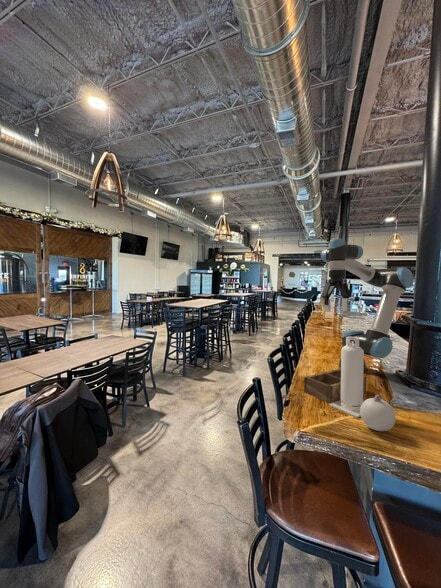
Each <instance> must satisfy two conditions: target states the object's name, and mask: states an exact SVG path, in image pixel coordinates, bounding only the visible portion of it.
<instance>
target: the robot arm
mask: <svg viewBox="0 0 441 588" xmlns="http://www.w3.org/2000/svg"><path fill="white" fill-rule="evenodd" d="M328 245H329V246H328V248H326V249H325V248H324V249H323V250H322V251H321V253H320V258H321V261H322V262H324V263H328V269H329V270H328V277H329V278H326V279H325V284H324V287H323V290H322V292H321V298H322V299H324V300H323V301H324V312H327V313H331V301H332V300H331V296H332V295H333V292H334V290H335V289H338V290H339V292H340V294H341V296H342V298H341V312H342V311H345V312H347V311H348V301H349V299H350V297H352V294H351V292H350V289H349V285H348V279H344V278H345V277H346V271H348V272H349V273H351V274H353V275H355V276H356V277H358V278H360V279H361V281H362V282H364V283H367V284H368V285H371V286H374V287H375V288H381V290H383V291H382V293H381V298H380V299H379V303H378V306H377V309H376V312H375V314H374V318H373V321H372V323H371V327H370V328H368V329H367V330H366V332H365V331H364V330H362V329H361V330H360V329H356V330H355V329H353V330H349V329H348V330H344V331H343V332H342V337H341V348H342V347H344V346H346V337H349V336H351V337H358V338H359V347H361V348H362V349H363V351H364V356H365V355H366V356H370V357H373V358H378V359H385V358H386V357H388V356H390V354H391V353H392V350H393V348H394V346H393V340H392V339H391V336H390V335H391V334H389V331H390V330H391V329H390V328H391V326H392V322H393V320H394V316H395V312H396V310H397V307H398V304H399V300H400V297H401V295H403V294H405V292H406V290H407V289H409V288H411V287H413V284H414V275H413V273H412V270H410V269H409V268H408V267H393V268H392V267H390V268H374V267H372V266H367V265H365V264H363V263H361V262H359V261H358V260H359V259H361V258H362V257H363V255H364V249H363V247H362V246H360V245H357V244H350V243H349V244H348V243H346V239H344V238H333V239H331V240H329V244H328ZM353 339H356V338H353ZM351 341H352V342H353V344H355V341H354V340H350V342H351ZM352 342H351V343H352ZM338 367H339V369H341V358H340V359H339V362H338ZM367 369H368V366H367V363H366V360H365V359H364V371H363V373H365V372H367Z"/></svg>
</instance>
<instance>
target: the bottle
mask: <svg viewBox="0 0 441 588" xmlns="http://www.w3.org/2000/svg"><path fill="white" fill-rule="evenodd" d="M353 338H356V339H353ZM350 340H354V341H355V344H353V342H352V341H351V342H352V343H351V342H350ZM340 352H341V353H340V354H341V355H340V356H341V357H340V359H341V368H340V369H341V406H342V407H343V408H345V409H348V410H352V411H360V407H361V405H362V403H363V402H364V392H363V376H364V372H365V371H364V360H365V354H364V351H363V349H362V348H361V347H359V338H358V337H351V336H349V337H346V346H344V347H342V346H341V351H340ZM363 371H364V372H363ZM344 403H345V404H344ZM354 406H358V407H354Z"/></svg>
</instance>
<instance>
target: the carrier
mask: <svg viewBox="0 0 441 588" xmlns="http://www.w3.org/2000/svg"><path fill="white" fill-rule="evenodd" d="M303 379H304V381H303V392H304V393H305V394H308V395H310V396H312V397H315V398H316V399H318V400H321V401H323V402H326V403H328V404H331V403H334V402H337V401H340V400H341V368H337V369H333V370H328V371H324V372H321V373H316V374H312V375H311V374H310V375H308V376H304V377H303ZM365 392H367V376H366V375H363V393H365Z"/></svg>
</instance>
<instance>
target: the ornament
mask: <svg viewBox="0 0 441 588" xmlns="http://www.w3.org/2000/svg"><path fill="white" fill-rule="evenodd" d="M360 415H361V416H360V417H361V420H362V422H363V424H364V425H366V426H367V427H368V428H369V429H371V430H373V431H376V432H377V431H378V432H387V431H389V430H392V428H393V427H394V425H395V423H396V418H397V416H396V413H395V410H394V409H393V407H392V406H391V405H390V403H388V402H387V401H386V400H383V399H382V398H381V396H380V395H379V394H375V395H374V397H370V398H367V399H365V400H363V403H362V405H361V407H360Z"/></svg>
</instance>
